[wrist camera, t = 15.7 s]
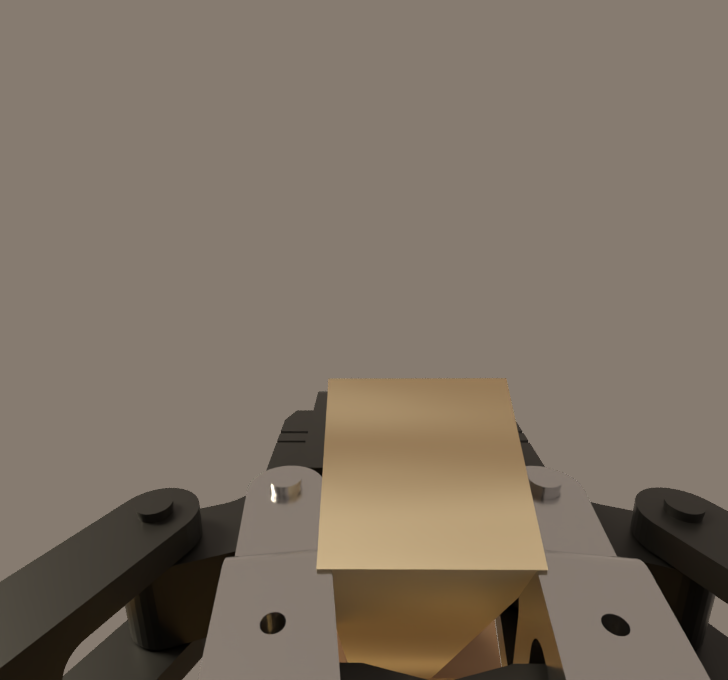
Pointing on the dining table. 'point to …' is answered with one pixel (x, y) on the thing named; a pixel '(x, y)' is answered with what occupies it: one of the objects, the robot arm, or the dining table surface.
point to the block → (424, 522)
